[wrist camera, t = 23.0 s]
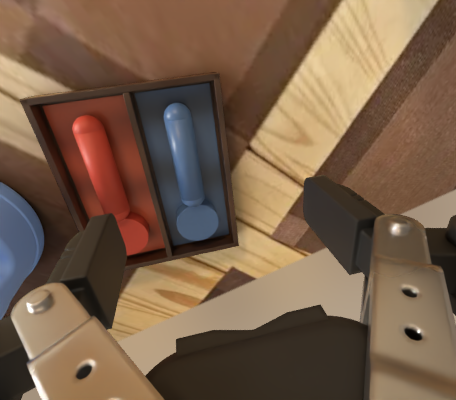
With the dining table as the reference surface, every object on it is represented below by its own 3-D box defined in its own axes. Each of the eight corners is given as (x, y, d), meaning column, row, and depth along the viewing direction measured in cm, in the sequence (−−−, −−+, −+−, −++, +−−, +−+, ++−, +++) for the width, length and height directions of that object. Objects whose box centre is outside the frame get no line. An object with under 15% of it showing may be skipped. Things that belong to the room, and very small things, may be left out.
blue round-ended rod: (149, 104, 28) (147, 109, 25) (199, 97, 29) (202, 101, 26) (180, 236, 36) (181, 249, 33) (218, 228, 36) (222, 240, 34)
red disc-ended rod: (59, 117, 27) (49, 122, 24) (114, 109, 27) (109, 113, 25) (112, 250, 35) (108, 264, 32) (153, 241, 35) (152, 255, 33)
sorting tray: (31, 96, 26) (19, 99, 24) (215, 71, 28) (219, 72, 26) (103, 262, 36) (98, 276, 34) (234, 234, 38) (238, 245, 36)
